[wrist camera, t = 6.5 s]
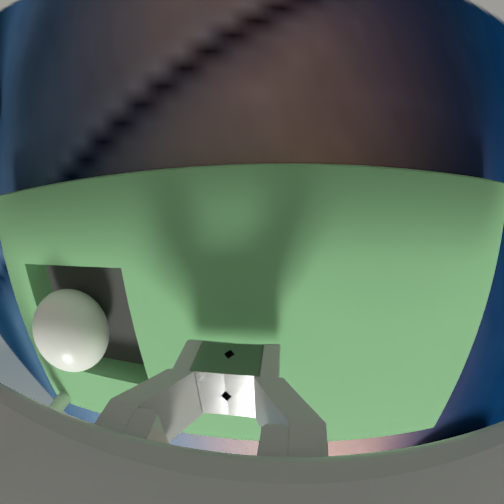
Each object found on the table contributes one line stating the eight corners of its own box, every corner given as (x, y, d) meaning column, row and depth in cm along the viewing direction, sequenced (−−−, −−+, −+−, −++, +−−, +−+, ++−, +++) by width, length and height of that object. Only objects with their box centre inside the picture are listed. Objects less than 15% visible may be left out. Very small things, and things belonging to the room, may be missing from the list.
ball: (115, 284, 11) (43, 324, 8) (133, 356, 12) (77, 401, 9) (69, 270, 12) (10, 299, 9) (87, 334, 14) (37, 367, 10)
